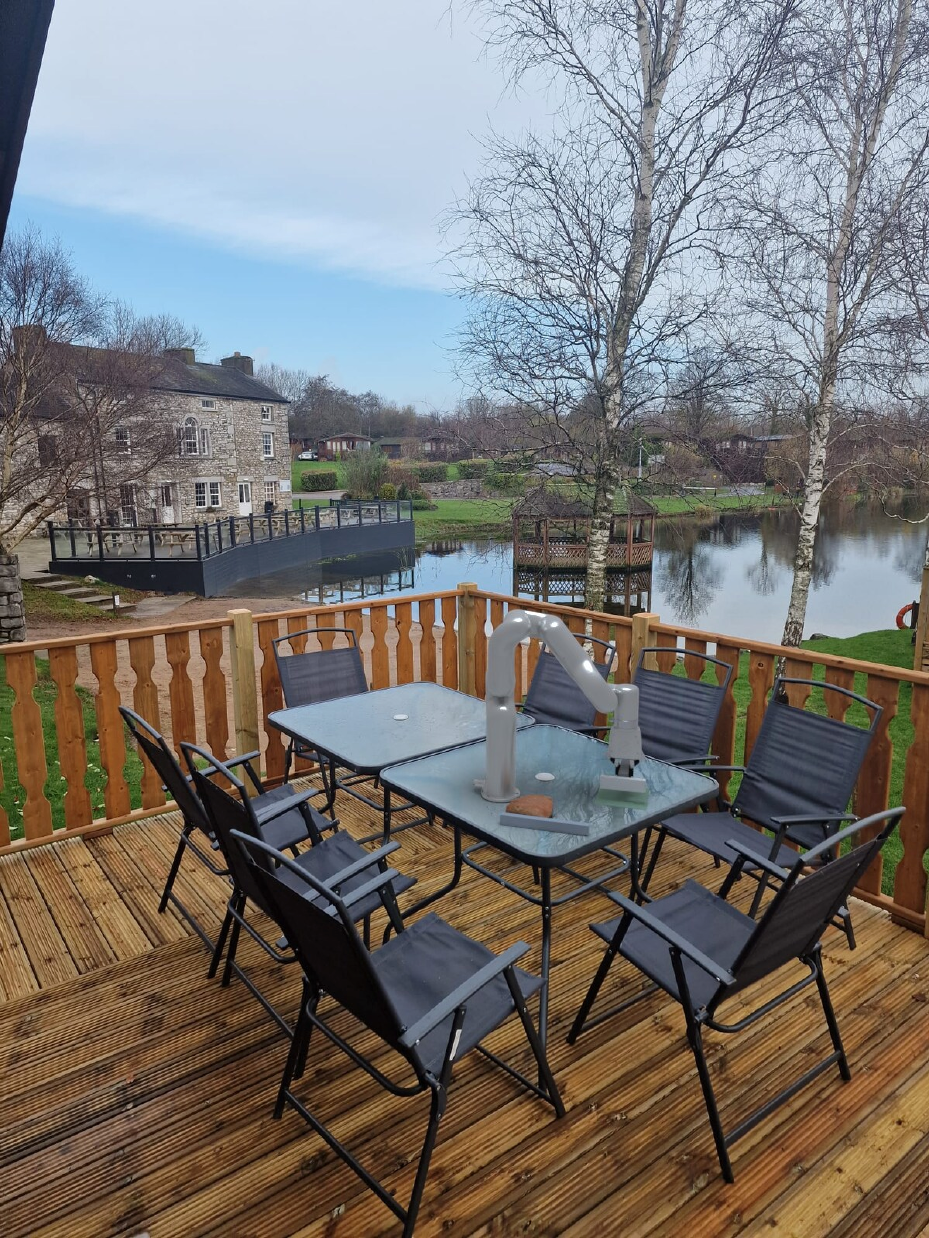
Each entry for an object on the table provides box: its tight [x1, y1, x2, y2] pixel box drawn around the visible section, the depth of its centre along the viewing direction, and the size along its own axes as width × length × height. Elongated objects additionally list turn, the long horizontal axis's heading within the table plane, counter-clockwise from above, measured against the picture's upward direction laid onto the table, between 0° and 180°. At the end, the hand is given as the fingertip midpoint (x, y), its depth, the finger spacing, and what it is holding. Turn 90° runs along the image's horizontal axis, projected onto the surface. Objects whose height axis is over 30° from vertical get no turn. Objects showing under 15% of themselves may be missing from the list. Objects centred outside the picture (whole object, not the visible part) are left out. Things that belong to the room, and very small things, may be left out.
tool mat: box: [593, 785, 650, 811], centre depth 244 cm, size 16×18×1 cm
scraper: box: [599, 759, 647, 793], centre depth 244 cm, size 14×14×5 cm
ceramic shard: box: [505, 794, 554, 818], centre depth 232 cm, size 15×6×15 cm
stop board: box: [499, 811, 590, 836], centre depth 221 cm, size 26×2×3 cm, turn 74°
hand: (624, 777), depth 244 cm, fingers closed on scraper, 3 cm apart
